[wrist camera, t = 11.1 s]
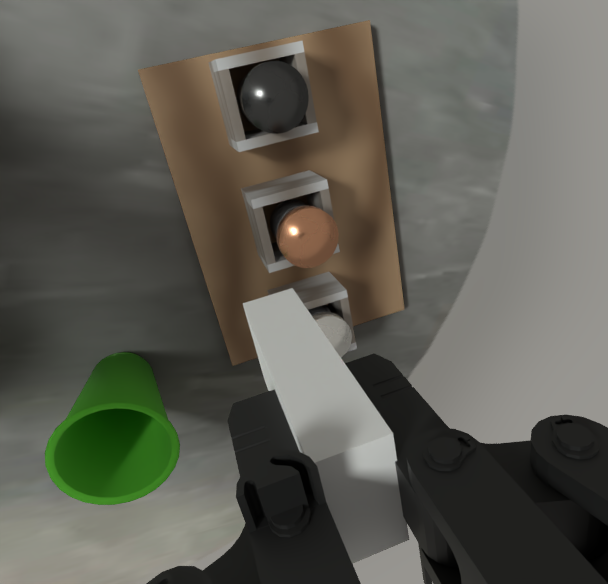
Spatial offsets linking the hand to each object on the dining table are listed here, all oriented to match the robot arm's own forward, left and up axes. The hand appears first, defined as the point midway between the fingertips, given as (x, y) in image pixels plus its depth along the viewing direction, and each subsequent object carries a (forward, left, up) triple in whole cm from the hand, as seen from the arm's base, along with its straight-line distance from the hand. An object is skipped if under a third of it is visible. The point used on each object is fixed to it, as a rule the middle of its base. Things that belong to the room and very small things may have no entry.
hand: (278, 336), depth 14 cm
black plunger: (+6, +5, -26) cm, 27 cm away
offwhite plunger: (+6, -14, -26) cm, 30 cm away
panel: (+7, -5, -28) cm, 30 cm away
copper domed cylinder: (+6, -4, -24) cm, 25 cm away
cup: (-12, -16, -29) cm, 35 cm away
